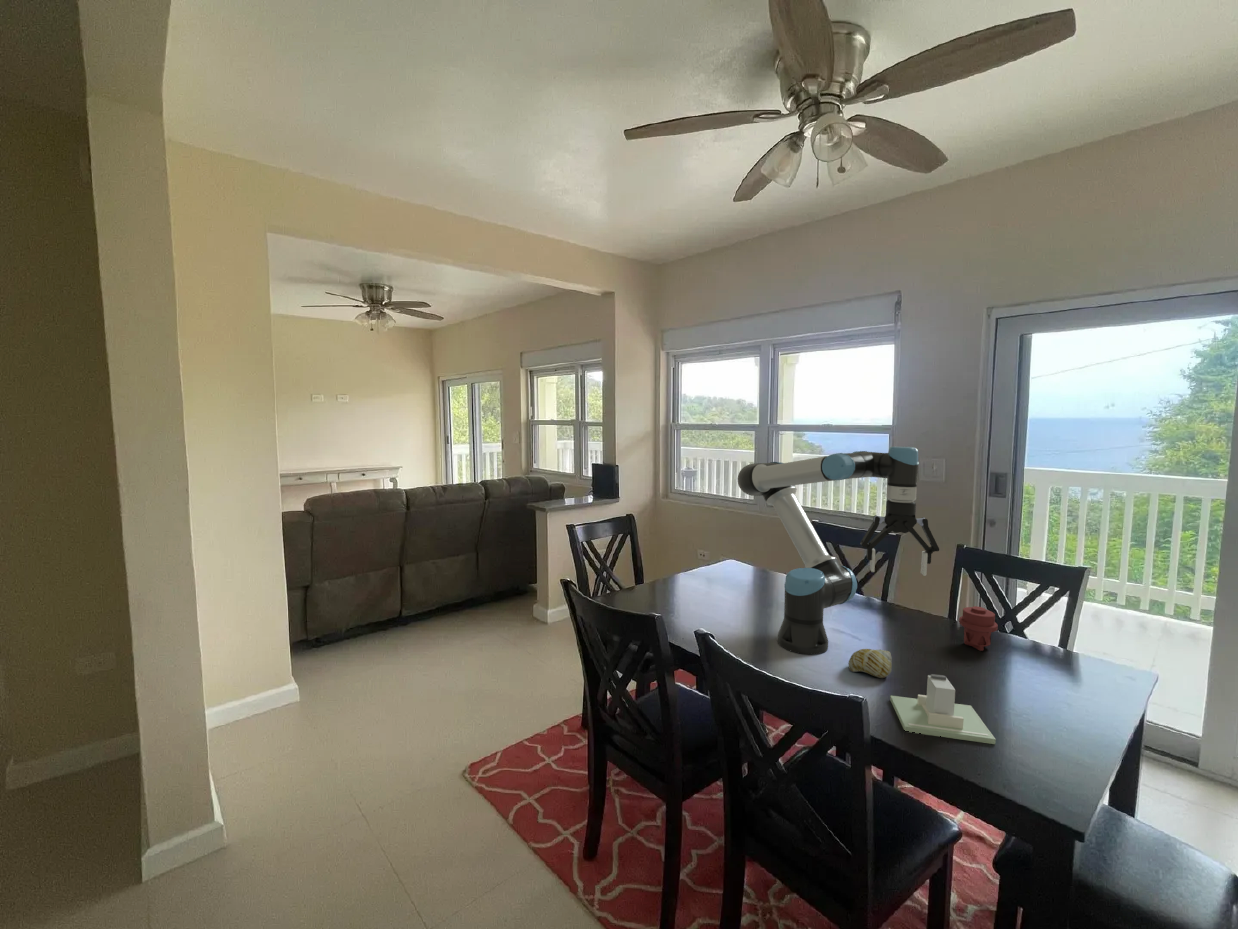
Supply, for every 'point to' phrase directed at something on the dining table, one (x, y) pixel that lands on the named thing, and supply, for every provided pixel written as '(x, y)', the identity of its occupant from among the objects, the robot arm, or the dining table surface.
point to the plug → (940, 695)
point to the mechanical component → (978, 626)
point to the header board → (941, 720)
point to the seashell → (871, 662)
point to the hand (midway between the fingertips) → (897, 572)
